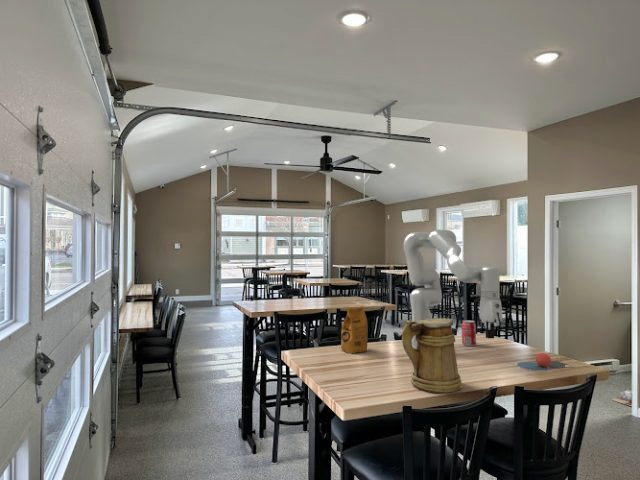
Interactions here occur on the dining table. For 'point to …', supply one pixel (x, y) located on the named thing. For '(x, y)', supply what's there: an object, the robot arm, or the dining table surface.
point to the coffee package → (354, 331)
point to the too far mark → (557, 364)
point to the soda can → (468, 333)
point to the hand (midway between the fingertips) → (489, 337)
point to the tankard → (432, 355)
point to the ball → (543, 360)
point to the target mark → (532, 366)
